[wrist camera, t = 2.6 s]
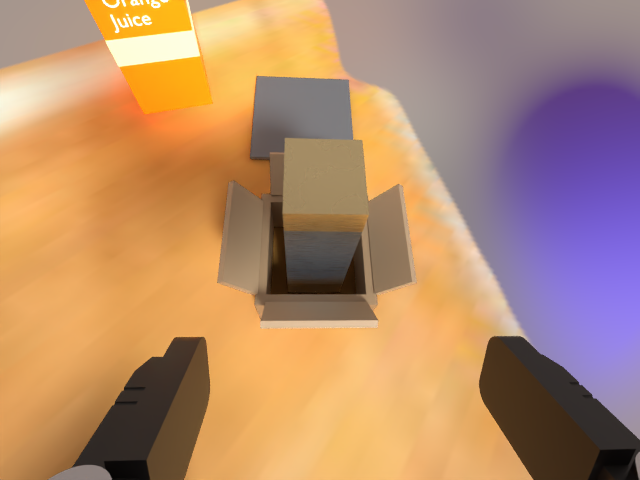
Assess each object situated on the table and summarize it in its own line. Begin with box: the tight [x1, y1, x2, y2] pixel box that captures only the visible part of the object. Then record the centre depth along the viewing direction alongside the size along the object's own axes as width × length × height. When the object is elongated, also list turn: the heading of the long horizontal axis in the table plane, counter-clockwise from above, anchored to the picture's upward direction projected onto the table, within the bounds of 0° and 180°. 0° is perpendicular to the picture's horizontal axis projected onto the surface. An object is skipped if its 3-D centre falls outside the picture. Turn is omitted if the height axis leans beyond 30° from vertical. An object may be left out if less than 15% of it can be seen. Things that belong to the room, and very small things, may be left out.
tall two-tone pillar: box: [282, 138, 369, 293], centre depth 25 cm, size 4×5×14 cm
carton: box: [217, 152, 417, 328], centre depth 28 cm, size 14×14×8 cm
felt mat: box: [250, 76, 353, 160], centre depth 39 cm, size 11×12×1 cm
